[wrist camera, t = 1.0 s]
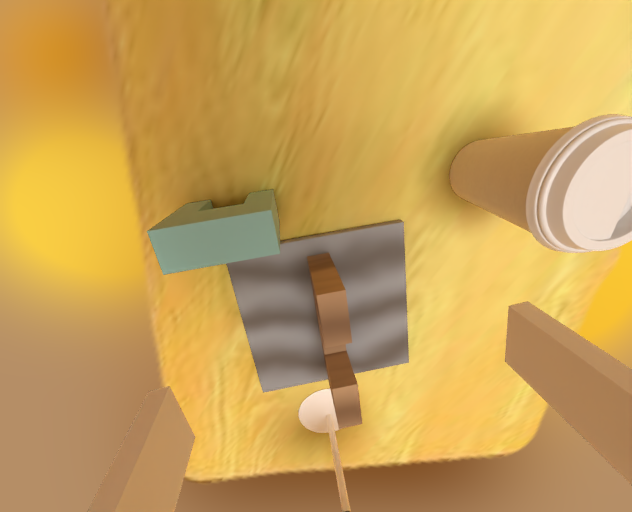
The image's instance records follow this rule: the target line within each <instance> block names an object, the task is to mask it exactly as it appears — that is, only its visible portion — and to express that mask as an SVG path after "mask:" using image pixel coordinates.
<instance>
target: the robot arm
mask: <svg viewBox="0 0 632 512" xmlns="http://www.w3.org/2000/svg"><path fill="white" fill-rule="evenodd" d="M505 362H506V363H507V364H508V365H509V366H510V367H511V368H512V369H513V370H514V371H515V372H516V373H517V374H519V375H520V376H521V377H522V378H523V379H524V380H525V381H526V382H527V383H528V384H529V385H530V386H531V387H532V388H533V389H534V390H535V391H536V392H537V393H538V394H539V395H540V396H541V397H542V398H543V399H544V400H545V401H546V402H547V403H548V404H549V405H550V406H551V407H552V408H553V409H554V410H555V411H556V412H557V413H558V414H559V415H560V416H561V417H562V418H564V420H565V421H566V422H567V423H569V424H570V425H571V426H572V427H573V428H574V429H575V430H576V431H577V432H578V433H579V434H580V435H581V436H582V437H583V438H584V439H585V440H586V441H587V442H588V443H589V444H590V445H591V446H592V447H593V448H594V449H595V450H596V451H597V452H598V453H599V454H600V455H601V456H602V457H603V458H604V459H605V460H606V461H608V463H609V464H610V465H611V466H613V467H614V468H615V469H616V470H617V471H618V472H619V473H620V474H621V475H622V476H623V477H624V478H625V479H626V480H627V481H628V482H629V483H630V484H631V485H632V369H630V368H629V367H627V366H626V365H624V364H623V363H621V362H620V361H618V360H617V359H615V358H613V357H612V356H610V355H609V354H607V353H606V352H604V351H603V350H601V349H600V348H598V347H597V346H595V345H593V344H592V343H591V342H589V341H588V340H586V339H584V338H583V337H581V336H580V335H578V334H577V333H575V332H574V331H572V330H571V329H569V328H568V327H566V326H565V325H563V324H561V323H560V322H558V321H557V320H555V319H554V318H552V317H551V316H549V315H548V314H546V313H545V312H543V311H542V310H540V309H538V308H537V307H535V306H534V305H532V304H531V303H529V302H528V301H527V302H523V303H519V304H515V305H510V306H509V310H508V324H507V339H506V353H505ZM194 439H195V436H194V434H193V432H192V430H191V428H190V426H189V424H188V422H187V420H186V418H185V416H184V414H183V412H182V410H181V408H180V406H179V404H178V402H177V400H176V398H175V396H174V394H173V392H172V390H171V388H170V386H168V387H164V388H160V389H156V390H152V391H149V392H148V394H147V396H146V397H145V399H144V402H143V403H142V405H141V407H140V409H139V411H138V413H137V415H136V417H135V419H134V421H133V423H132V425H131V427H130V429H129V431H128V433H127V435H126V437H125V439H124V441H123V443H122V444H121V446H120V449H119V450H118V452H117V454H116V456H115V458H114V460H113V462H112V464H111V466H110V468H109V470H108V472H107V474H106V476H105V478H104V480H103V482H102V484H101V486H100V488H99V489H98V492H97V494H96V495H95V497H94V499H93V501H92V503H91V505H90V507H89V509H88V511H87V512H174V511H175V508H176V504H177V501H178V497H179V493H180V489H181V486H182V483H183V479H184V475H185V472H186V468H187V464H188V461H189V457H190V454H191V450H192V446H193V443H194Z"/></svg>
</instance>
